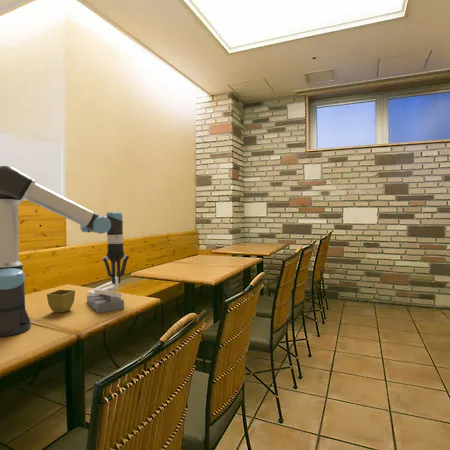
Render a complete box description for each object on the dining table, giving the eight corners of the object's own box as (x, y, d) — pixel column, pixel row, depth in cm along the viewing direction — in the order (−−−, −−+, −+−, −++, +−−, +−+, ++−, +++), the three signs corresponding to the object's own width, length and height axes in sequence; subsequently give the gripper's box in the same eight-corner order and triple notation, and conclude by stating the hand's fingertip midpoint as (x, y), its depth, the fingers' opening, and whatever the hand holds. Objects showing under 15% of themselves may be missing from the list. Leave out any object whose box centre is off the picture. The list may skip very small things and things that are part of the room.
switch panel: (97, 313, 151) (97, 300, 151) (87, 302, 169) (86, 290, 169) (124, 308, 158) (123, 296, 157) (111, 299, 176) (110, 287, 175)
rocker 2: (93, 296, 158) (92, 293, 158) (91, 295, 161) (90, 292, 161) (118, 288, 165) (117, 285, 165) (116, 287, 168) (115, 284, 168)
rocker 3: (95, 293, 153) (96, 289, 153) (94, 291, 156) (95, 288, 156) (120, 297, 159) (121, 294, 160) (118, 296, 162) (119, 292, 162)
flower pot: (63, 314, 149) (63, 294, 149) (46, 313, 151) (46, 293, 150) (76, 309, 158) (75, 290, 157) (59, 308, 159) (59, 289, 159)
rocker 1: (90, 295, 164) (89, 292, 164) (89, 293, 167) (88, 291, 166) (114, 284, 170) (113, 282, 170) (112, 283, 173) (111, 281, 173)
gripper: (103, 244, 159) (104, 293, 159) (130, 242, 166) (131, 289, 167) (99, 243, 165) (100, 290, 166) (125, 241, 172) (126, 286, 173)
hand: (116, 289), depth 166 cm, fingers closed, pressing on rocker 2
